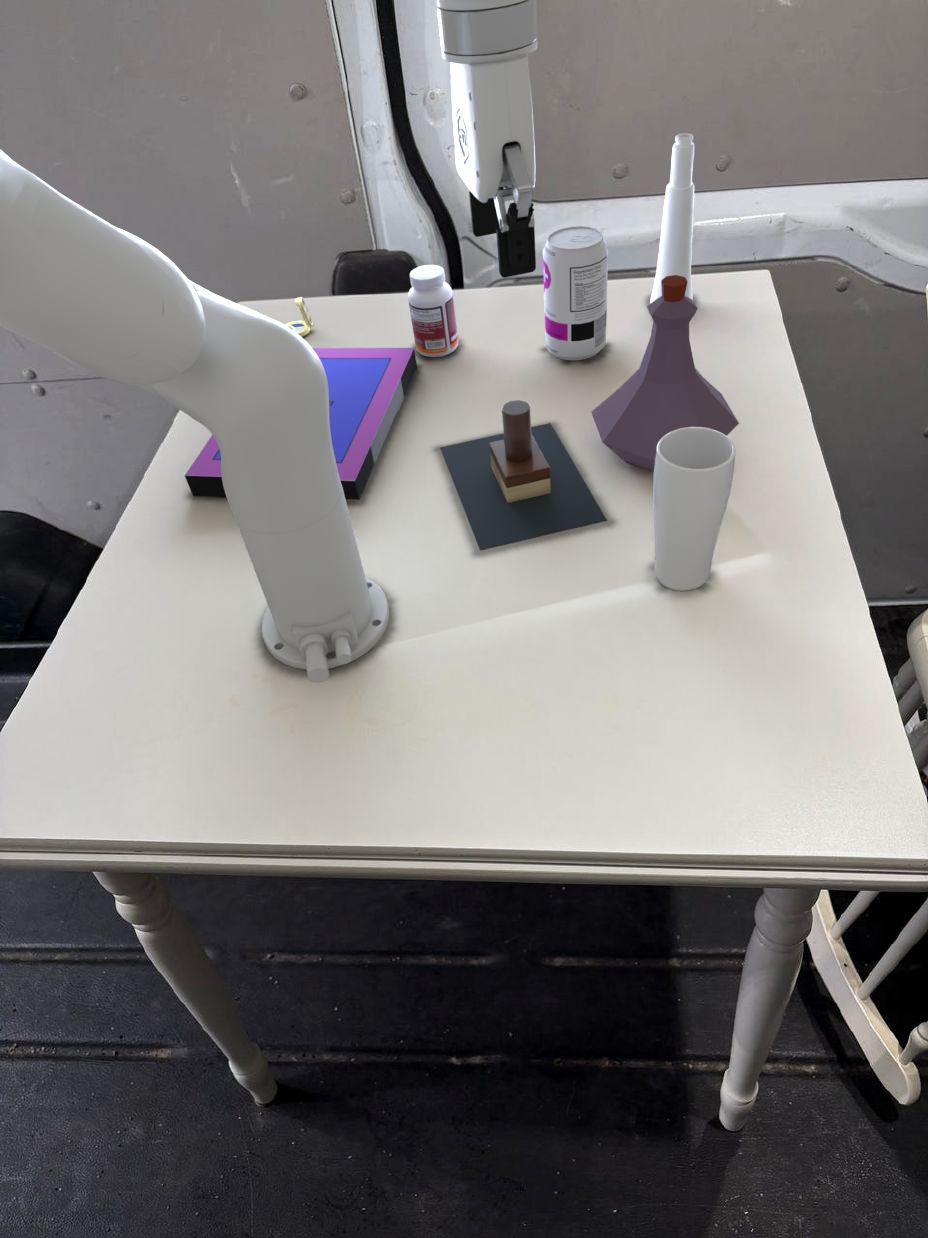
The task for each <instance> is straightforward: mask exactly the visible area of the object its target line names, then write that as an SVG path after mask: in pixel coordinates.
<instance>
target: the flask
mask: <svg viewBox="0 0 928 1238" xmlns="http://www.w3.org/2000/svg"><path fill="white" fill-rule="evenodd" d="M687 282H688V281H687V280H686V278H685V277H682V276H678V275H673V276H666V277H665V278H664V279H662V280H661V286H662V296H661V297H659V298H657V299H656V300H655V301H653V302H652V303H649V304H648V305H647V306H646V308H647V310H648V313H649V315H650V318H651V320H652V327H651V332H650V337H649V340H648V343H647V345H646V348H645V352H644V354H643V357H642V359H641V362H640V366H639V367H638V369H637V370H636V371H635V372H634V373H633V374H632V375H631V376H630V377H629V378H628V379H627V380H626V381H625V382H624V383H623V384H622V385H621V386H620V387H619V388H617V389H616V390H615V391H614V392H612V394H611V395H609V396H608V397H607V398H606V399H604V400H603V401H601V403H600V404H598V405H597V406H596V407H595V408H594V409H593V410H591V411H590V413H591V415H592V418H593V421H594V423H595V426H596V429H597V432H598V434H599V438H600V441H601V442H602V444H604V445H605V446H606V447H607V448H608V449H609V450H611V451H612V453H614V454H616V455H617V456H618V457H619V458H621V459H622V460H623V461H624V462H626V463H628V464H631V465H634V466H637V467H639V468H642V469H645V470H648V471H649V472H653V473H654V465H655V457H656V450H657V445H658V442H659V441H660V439H661V438H662V437H663V436H664V435H666V434H667V433H669V432H671V431H674V430H677V429H680V428H686V427H704V428H709V429H713V430H716V431H719V432H721V433H723V434H725V435H726V436H727V437H728V435H730V434H731V432H732V431H733V430H734V429H735V428H736V427H737V426H738V425H740V422H739V420H738V419H737V417H736V415H735V414H734V411H733V410H732V409H731V407H730V405H729V404H728V402H727V401H726V399H725V397H724V395H723V393H722V392H721V391H720V390H718V389H717V388H716V387H715V386H714V385H713V384H711V383H710V381H708V380H707V379H706V378H705V377H704V376H703V375H702V374H701V373H700V371H698V369H697V367H695V361H694V357H693V350H692V345H691V340H690V323H691V321H692V319H693V318H694V316H695V314H696V313H697V312H698V309H699V308H698V306H697V305H696V303H695V301H694V300H691V299H690V298H688V297H687V296H685V291H686V287H687Z"/></svg>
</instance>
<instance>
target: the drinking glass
mask: <svg viewBox="0 0 928 1238" xmlns="http://www.w3.org/2000/svg"><path fill="white" fill-rule="evenodd" d="M736 451H737V450H736V445H735V443H734V441H733V440H732V439H731V438H730V437H729V436H728V435H727V436H726V435H725V434H723V433H721V432H719V431H716V430H713V429H709V428H704V427H686V428H680V429H677V430H674V431H671V432H669V433H667V434H666V435H664V436H663V437H662V438H661V439H660V441H659V442H658V445H657V450H656V457H655V465H654V472H653V477H652V499H653V500H652V502H653V504H652V505H653V527H654V528H653V531H654V532H653V533H654V535H653V536H654V560H653V573H654V576H655V579H657V581H658V582H659V583H660V584H662V586H664V587H666V588H668V589H670V590H674V591H679V592H687V591H692V590H696V589H698V588H700V587H702V586H703V585H704V584H705V583H706V582H707V581H708V580H709V577H710V575H711V569H712V568H711V567H712V563H713V557H714V554H715V551H716V546H717V542H718V539H719V535H720V531H721V527H722V523H723V521H724V517H725V513H726V509H727V505H728V502H729V498H730V494H731V491H732V484H733V480H734V474H735V473H734V472H735V464H736V463H735V462H736Z"/></svg>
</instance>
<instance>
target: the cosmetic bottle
mask: <svg viewBox="0 0 928 1238" xmlns="http://www.w3.org/2000/svg"><path fill="white" fill-rule="evenodd" d="M674 140H675V142H674V143H673V145H672V148H671V149H672V150H671V151H672V152H671V164H670V177H669V182H668V184H666V188H665V196H664V202H663V203H664V204H663V212H662V219H661V220H662V221H661V231H660V240H659V248H658V256H657V264H656V271H655V276H654V283H653V287H652V292H651V295H650V301H649V304H651V303H652V302H653V301H655V300H656V299H657V298H659V297H661V296H662V286H661V280H662V279H664V278H665V277H666V276H673V275H678V276H682V277H685V278H686V280H687V281H688V282H687V287H686V291H685V296H687V297H688V298H690V299H691V300H693V299H694V298H693V286H692V285H693V284H692V283H693V282H692V255H693V254H692V252H693V251H692V250H693V231H694V229H693V228H694V211H695V209H694V208H695V183H694V182H693V171H694V170H693V169H694V158H695V148H696V147H695V143H694V142H693V140H694V135H693V133H689V132H685V133H684V132H683V133H678V134H676V135H675V138H674ZM693 301H694V300H693Z"/></svg>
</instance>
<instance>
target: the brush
mask: <svg viewBox="0 0 928 1238" xmlns="http://www.w3.org/2000/svg"><path fill="white" fill-rule="evenodd" d="M531 417H532V415H531V405H530V403H528V402H527V401H524V400H521V399H520V400H519V399H514V400H510V401H507V402H506V403H504V404H503V405H502V406H501V418H502V431H503V433H504V440H500V441H496V442H491V443H489V445H490V456H491V467H492V470H493V472H494V474H495V476H496V479H497V481H498V483H499V485H500V487H501V490H502V492H503V494H504V496H505V498H506V501H507V503H509V502H514V501H518V500H522V499H527V498H531V497H536V496H540V495H544V494H549V493H551V490H550V467H549V465H548V463H547V462H546V460H545V458H544V456H543V454H542V452H541V451H540V449H539V447H538V445H537V443H536V441H535V439H534V438H533V436H532V434H531V427H532V418H531Z"/></svg>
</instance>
